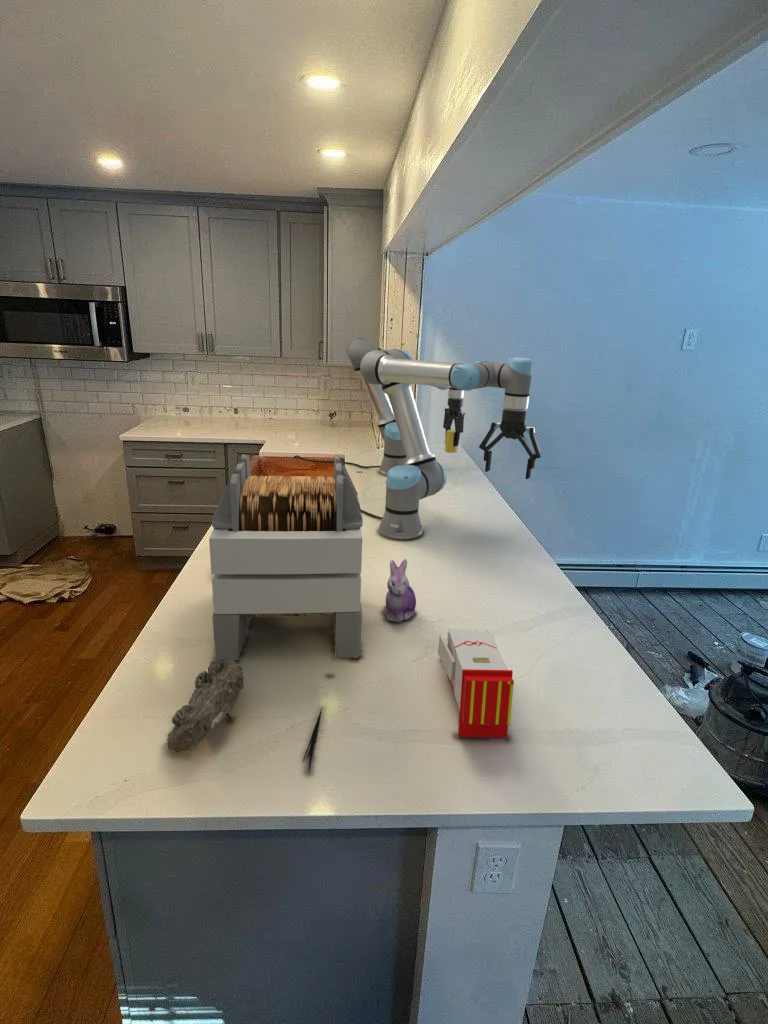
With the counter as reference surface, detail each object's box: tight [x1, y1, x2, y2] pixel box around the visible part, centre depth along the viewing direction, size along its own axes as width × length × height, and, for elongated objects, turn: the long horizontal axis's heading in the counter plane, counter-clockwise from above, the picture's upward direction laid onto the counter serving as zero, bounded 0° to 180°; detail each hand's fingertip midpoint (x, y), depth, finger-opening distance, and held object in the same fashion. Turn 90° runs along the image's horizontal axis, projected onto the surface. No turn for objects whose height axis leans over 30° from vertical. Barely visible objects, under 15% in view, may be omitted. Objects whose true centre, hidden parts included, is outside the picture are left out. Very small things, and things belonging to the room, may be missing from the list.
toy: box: [437, 628, 515, 738], centre depth 117 cm, size 12×13×30 cm
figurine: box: [384, 558, 417, 623], centre depth 145 cm, size 9×10×15 cm
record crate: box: [208, 453, 364, 661], centre depth 135 cm, size 34×33×41 cm
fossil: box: [166, 659, 245, 754], centre depth 106 cm, size 22×10×15 cm
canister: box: [444, 429, 459, 454], centre depth 285 cm, size 6×6×10 cm
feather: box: [301, 673, 332, 771], centre depth 108 cm, size 2×28×2 cm
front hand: (507, 474), depth 185 cm, fingers open, 13 cm apart
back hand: (451, 444), depth 285 cm, fingers closed on canister, 6 cm apart
